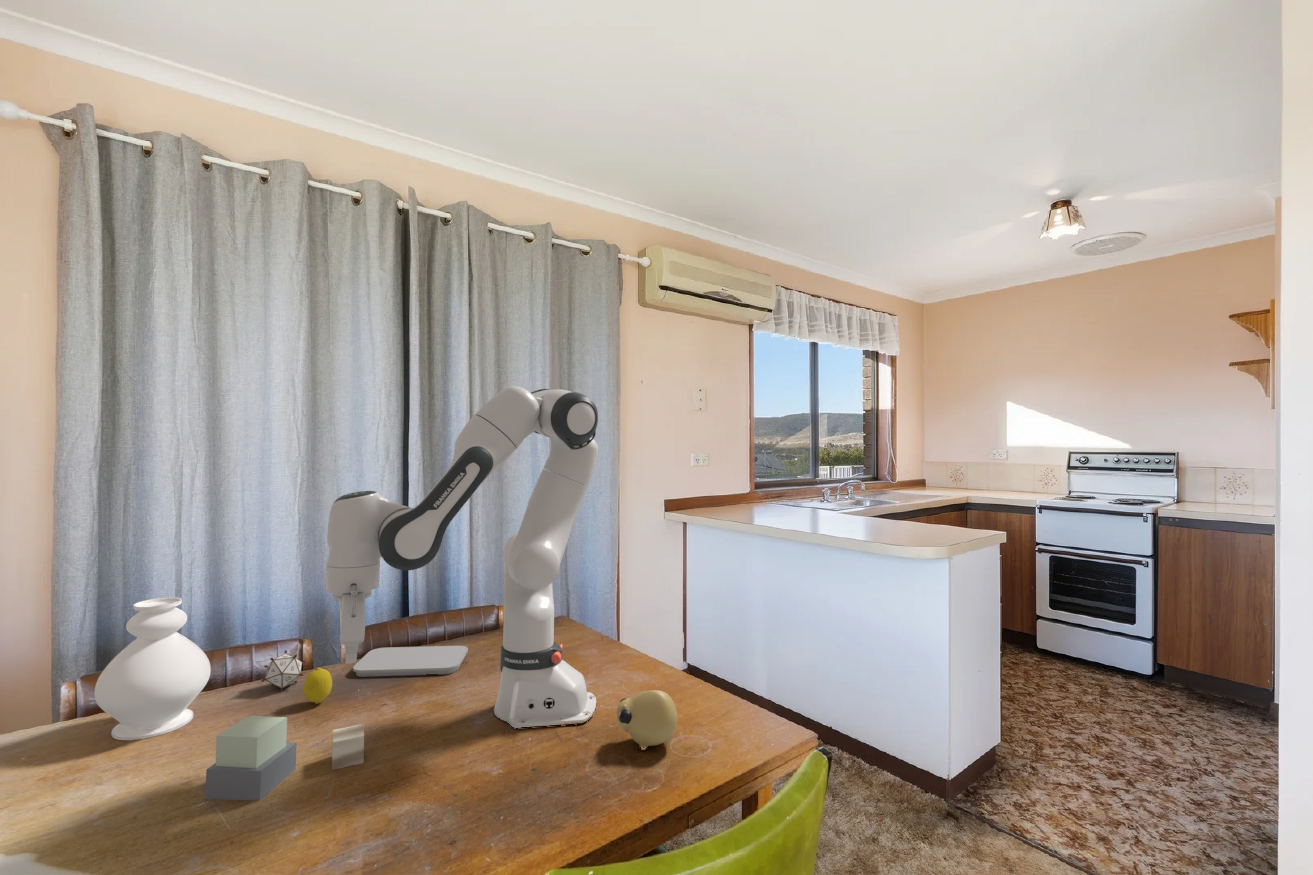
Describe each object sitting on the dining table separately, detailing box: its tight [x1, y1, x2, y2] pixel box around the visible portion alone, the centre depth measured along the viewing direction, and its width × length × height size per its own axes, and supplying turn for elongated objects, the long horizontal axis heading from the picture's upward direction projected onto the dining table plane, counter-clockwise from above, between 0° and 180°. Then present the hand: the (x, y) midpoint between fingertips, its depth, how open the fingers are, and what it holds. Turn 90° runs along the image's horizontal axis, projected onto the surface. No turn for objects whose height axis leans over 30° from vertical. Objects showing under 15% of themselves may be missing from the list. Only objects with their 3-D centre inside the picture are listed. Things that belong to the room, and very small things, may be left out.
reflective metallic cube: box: [331, 723, 365, 771], centre depth 105 cm, size 5×5×5 cm
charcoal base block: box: [204, 741, 297, 801], centre depth 97 cm, size 9×9×5 cm
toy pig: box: [616, 689, 678, 748], centre depth 113 cm, size 10×12×11 cm
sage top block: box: [215, 715, 288, 768], centre depth 97 cm, size 7×7×5 cm
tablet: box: [352, 645, 469, 678], centre depth 151 cm, size 16×26×2 cm, turn 97°
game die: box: [260, 649, 307, 693], centre depth 135 cm, size 9×8×10 cm
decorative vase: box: [93, 596, 212, 741], centre depth 117 cm, size 18×18×25 cm
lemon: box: [303, 667, 333, 705], centre depth 127 cm, size 6×6×8 cm
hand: (350, 653), depth 105 cm, fingers open, 8 cm apart
